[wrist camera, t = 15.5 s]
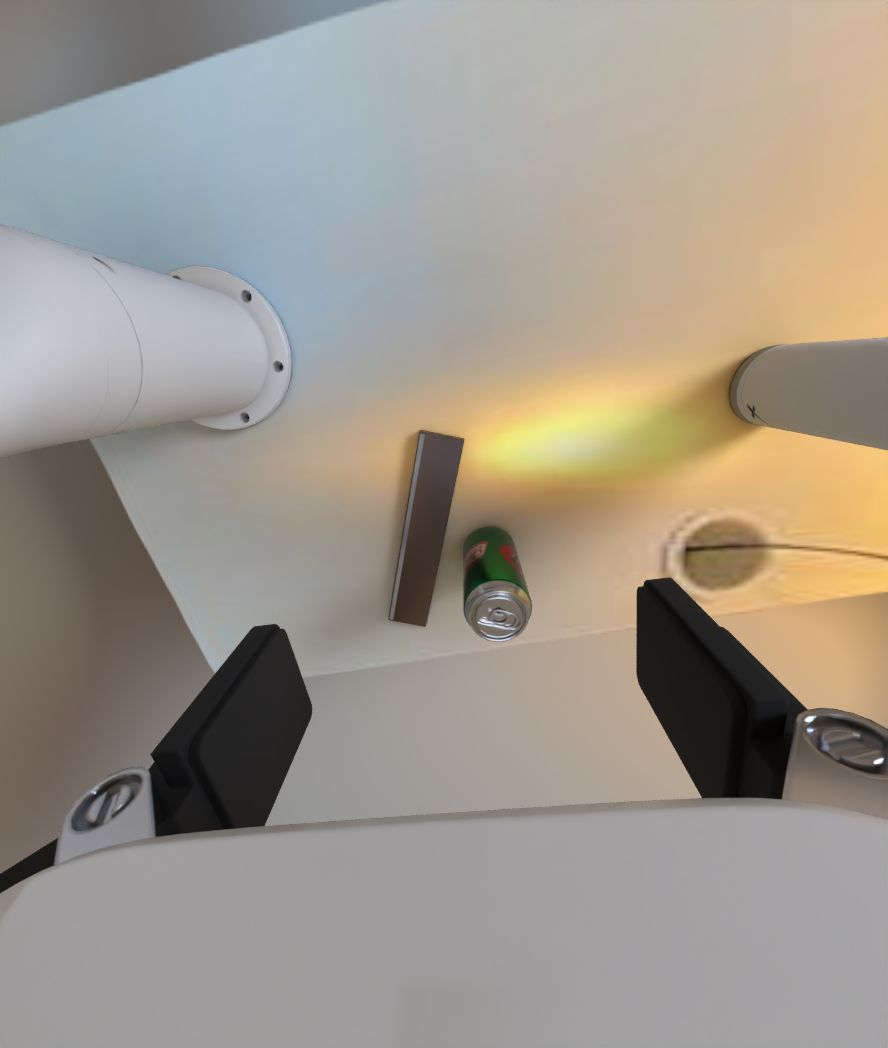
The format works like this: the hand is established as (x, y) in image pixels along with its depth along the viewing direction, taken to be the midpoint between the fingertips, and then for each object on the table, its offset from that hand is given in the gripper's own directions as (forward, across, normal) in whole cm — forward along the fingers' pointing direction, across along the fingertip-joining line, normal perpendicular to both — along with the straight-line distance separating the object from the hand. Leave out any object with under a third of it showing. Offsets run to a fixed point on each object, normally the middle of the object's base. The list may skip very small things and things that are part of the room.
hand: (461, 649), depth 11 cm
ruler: (+28, +5, +8) cm, 30 cm away
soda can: (+28, -1, +10) cm, 30 cm away
